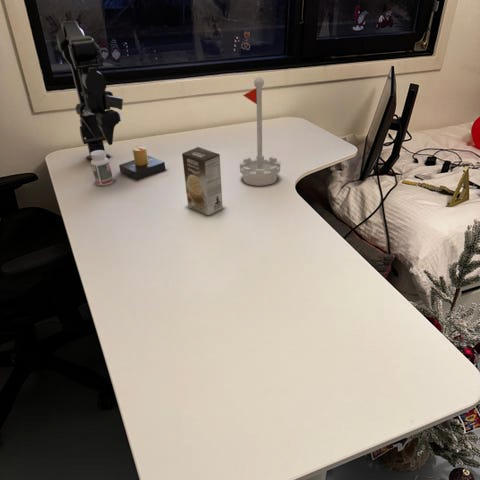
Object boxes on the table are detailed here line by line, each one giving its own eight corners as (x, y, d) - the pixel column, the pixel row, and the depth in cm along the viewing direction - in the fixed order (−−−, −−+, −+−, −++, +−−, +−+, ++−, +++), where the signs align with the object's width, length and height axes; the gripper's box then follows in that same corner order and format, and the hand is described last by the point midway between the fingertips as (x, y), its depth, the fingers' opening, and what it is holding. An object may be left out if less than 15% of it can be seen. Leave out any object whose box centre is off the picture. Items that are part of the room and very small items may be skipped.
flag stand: (285, 174, 153) (288, 73, 134) (271, 189, 144) (271, 83, 125) (249, 169, 158) (247, 71, 139) (233, 183, 149) (228, 80, 130)
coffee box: (186, 207, 136) (180, 152, 126) (202, 200, 140) (197, 146, 130) (208, 216, 131) (203, 160, 121) (224, 208, 135) (220, 153, 125)
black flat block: (120, 173, 159) (118, 164, 157) (149, 163, 166) (147, 154, 164) (136, 180, 154) (135, 171, 152) (165, 170, 160) (164, 161, 158)
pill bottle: (115, 179, 156) (109, 149, 149) (110, 185, 151) (103, 155, 145) (99, 179, 156) (92, 149, 150) (93, 185, 152) (86, 155, 146)
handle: (132, 163, 158) (129, 147, 155) (143, 159, 160) (140, 144, 157) (139, 166, 155) (137, 150, 152) (150, 162, 158) (148, 147, 154)
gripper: (131, 87, 135) (140, 141, 145) (102, 78, 146) (112, 129, 156) (96, 94, 130) (108, 150, 139) (69, 84, 141) (82, 137, 151)
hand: (103, 141), depth 147 cm, fingers open, 9 cm apart
